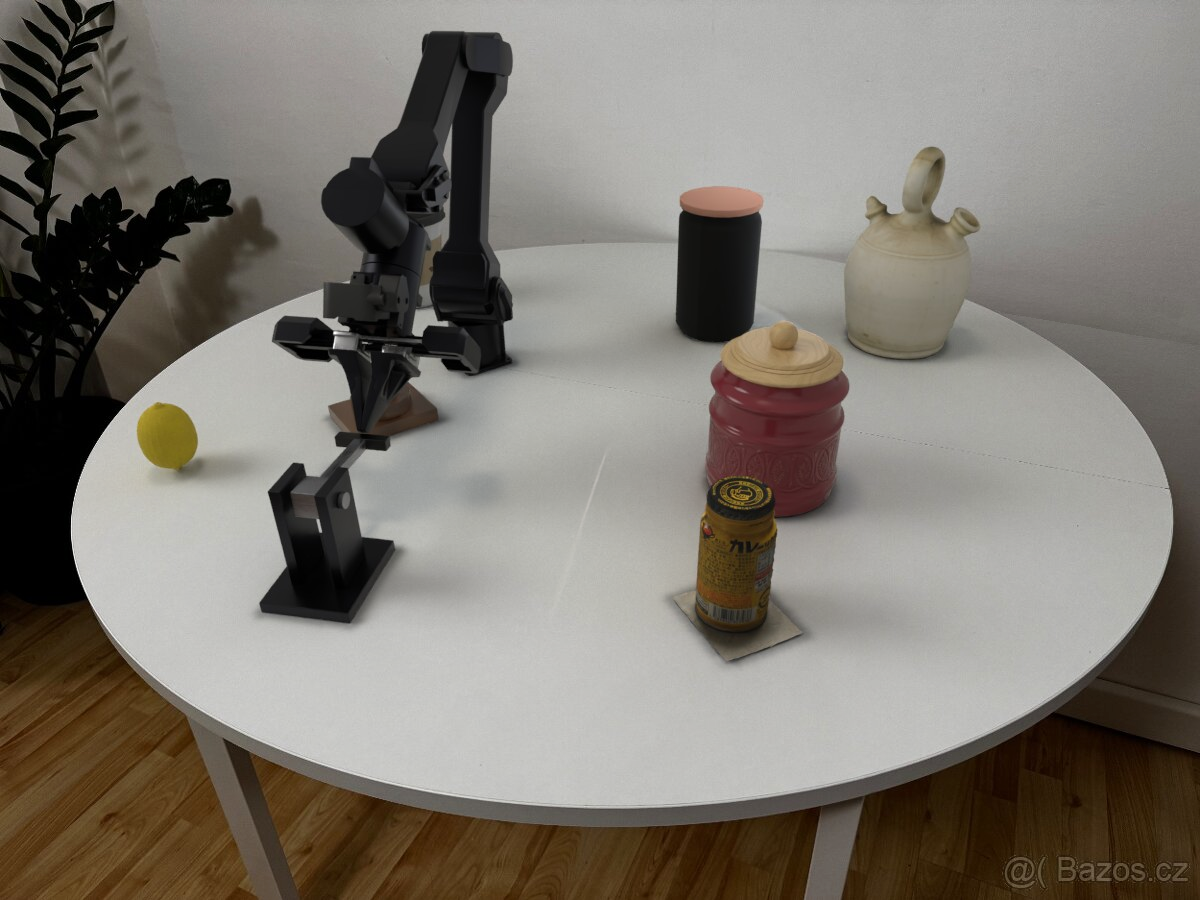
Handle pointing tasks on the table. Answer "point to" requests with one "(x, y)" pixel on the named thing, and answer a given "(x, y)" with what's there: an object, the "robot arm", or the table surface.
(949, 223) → the jug
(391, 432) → the button block
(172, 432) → the lemon
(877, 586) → the table surface
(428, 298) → the coffee cup
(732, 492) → the condiment
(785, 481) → the kitchen canister
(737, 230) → the coffee jar
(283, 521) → the lever bracket
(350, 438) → the control lever
